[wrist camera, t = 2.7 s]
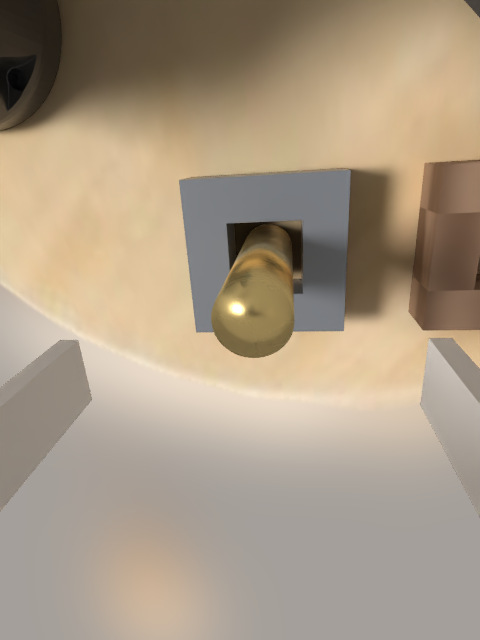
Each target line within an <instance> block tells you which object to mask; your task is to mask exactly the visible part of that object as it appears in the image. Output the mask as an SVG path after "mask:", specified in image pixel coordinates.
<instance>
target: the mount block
mask: <svg viewBox="0 0 480 640" xmlns="http://www.w3.org/2000/svg"><path fill="white" fill-rule="evenodd" d="M350 175H351V170H349V169H345V168H336V169H320V170H303V171H287V172H270V173H254V174H237V175H221V176H204V177H191V178H186V179H182V180H179V184H180V193H181V202H182V210H183V219H184V228H185V237H186V246H187V254H188V263H189V272H190V281H191V290H192V299H193V307H194V316H195V325H196V332H214V331H213V328H212V323H211V312H212V308H213V305H214V303H215V300H216V298H217V296H218V294H219V292H220V290H221V288H222V286H223V284H224V282H225V280H226V278H227V276H228V274H229V272H230V270H231V268H232V266H233V264H234V262H235V260H236V249H235V233H234V223H249V222H271V221H294V220H301V275H302V279H293V292H294V319H295V321H294V329H293V331H344V314H345V291H346V268H347V245H348V222H349V199H350Z"/></svg>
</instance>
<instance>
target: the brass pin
mask: <svg viewBox="0 0 480 640" xmlns="http://www.w3.org/2000/svg"><path fill="white" fill-rule="evenodd" d="M294 321H295V319H294V292H293V264H292V243H291V240H290V237H289V235H288V234H287V233H286V231H285V230H283V229H282V228H281V227H279V226H277V225H273V224H264V225H260V226H258V227H256V228H255V229H253V230H252V231H251V232H250V233H249V235H248V237H247V238H246V240H245V242H244V244H243V246H242V248H241V250H240V252H239V254H238V256H237V258H236V260H235V262H234V264H233V266H232V268H231V270H230V272H229V274H228V276H227V278H226V280H225V282H224V284H223V286H222V288H221V290H220V292H219V294H218V296H217V298H216V300H215V303H214V305H213V308H212V312H211V323H212V328H213V331H214V333H215V335H216V337H217V339H218V340H219V341H220V343H221V344H222V345H223V346H224V347H225V348H227V349H228V350H230V351H231V352H233V353H235V354H237V355H240V356H243V357H249V358H260V357H265V356H268V355H271V354H273V353H275V352H277V351H278V350H280V349H281V348H282V347H283V346H284V345H285V344H286V343H287V342H288V340H289V339H290V337H291V335H292V332H293V329H294Z"/></svg>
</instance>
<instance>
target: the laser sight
mask: <svg viewBox="0 0 480 640" xmlns="http://www.w3.org/2000/svg"><path fill="white" fill-rule="evenodd" d="M464 1H465V2H466V3H467V4H468V5H469V6H470V7H471V8H472V9H473V11H474V12H475V13H476V14H477V15H478V16H479V17H480V0H464Z"/></svg>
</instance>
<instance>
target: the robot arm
mask: <svg viewBox="0 0 480 640" xmlns="http://www.w3.org/2000/svg"><path fill="white" fill-rule="evenodd" d="M60 53H61V23H60V15H59V9H58V4H57V0H0V130H4V129H8V128H11V127H13V126H15V125H18V124H20V123H21V122H23V121H25V120H26V119H27V118H29V117H30V116H31V115H32V114H33V113H34V112H35V111H36V110H37V109H38V108H39V107H40V106H41V104H42V103H43V102H44V100H45V99H46V97H47V95H48V93H49V92H50V90H51V87H52V85H53V83H54V80H55V77H56V73H57V70H58V65H59V60H60ZM91 400H92V397H91V393H90V389H89V385H88V380H87V376H86V372H85V368H84V363H83V359H82V355H81V351H80V346H79V342H78V340H60V341H58V342H57V343H56V344H55V345H53V346H52V347H51V348H50V349H48V350H47V351H46V352H44V353H43V354H42V355H41V356H39V357H38V358H37V359H36V360H34V361H33V362H32V363H31V364H29V365H28V366H27V367H26V368H24V369H23V370H22V371H20V372H19V373H18V374H17V375H15V376H14V377H13V378H12V379H10V380H9V381H8V382H7V383H5V384H4V385H3V386H1V387H0V511H1V510H2V509H3V508H4V506H5V505H6V504H7V503H8V501H9V500H10V499H11V498H12V497H13V495H14V494H15V493H16V492H17V491H18V489H19V488H20V487H21V486H22V484H23V483H24V482H25V480H26V479H27V478H28V477H29V476H30V475H31V473H32V472H33V471H34V470H35V469H36V467H37V466H38V465H39V464H40V462H41V461H42V460H43V459H44V458H45V456H46V455H47V454H48V453H49V451H50V450H51V449H52V448H53V447H54V445H55V444H56V443H57V442H58V440H59V439H60V438H61V437H62V436H63V434H64V433H65V432H66V431H67V429H68V428H69V427H70V426H71V425H72V423H73V422H74V421H75V420H76V419H77V417H78V416H79V415H80V414H81V412H82V411H83V410H84V409H85V407H86V406H87V405H88V404H89V403H90V401H91ZM420 405H421V407H422V409H423V411H424V413H425V415H426V416H427V419H428V420H429V422H430V424H431V426H432V428H433V430H434V431H435V434H436V435H437V437H438V439H439V441H440V443H441V445H442V447H443V449H444V451H445V453H446V454H447V456H448V458H449V460H450V462H451V464H452V466H453V468H454V470H455V472H456V474H457V475H458V477H459V479H460V481H461V483H462V485H463V487H464V488H465V490H466V492H467V494H468V496H469V498H470V500H471V502H472V504H473V506H474V507H475V510H476V511H477V513H478V515H479V517H480V369H479V367H478V366H477V365H476V364H475V363H474V362H473V361H472V360H471V359H470V357H469V356H468V355H467V354H466V353H465V352H464V351H463V350H462V349H461V347H460V346H459V345H458V344H457V343H456V342H455V341H454V340H453V339H452V338H429V342H428V349H427V357H426V364H425V372H424V380H423V387H422V395H421V402H420Z"/></svg>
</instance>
